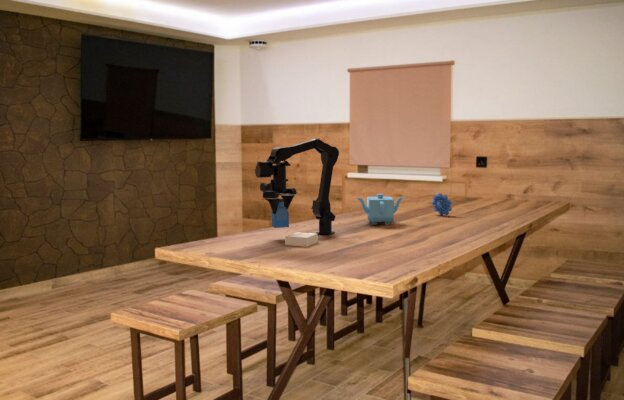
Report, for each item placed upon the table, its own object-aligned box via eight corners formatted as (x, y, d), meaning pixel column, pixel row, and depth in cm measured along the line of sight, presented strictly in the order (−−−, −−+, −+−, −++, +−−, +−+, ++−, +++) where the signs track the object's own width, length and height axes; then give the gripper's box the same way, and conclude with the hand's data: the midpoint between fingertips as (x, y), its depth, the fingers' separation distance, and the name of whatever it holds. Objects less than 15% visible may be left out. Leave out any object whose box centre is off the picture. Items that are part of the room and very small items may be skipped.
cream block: (296, 241, 255) (296, 232, 254) (317, 243, 250) (317, 233, 250) (285, 245, 246) (285, 236, 245) (307, 247, 241) (307, 237, 241)
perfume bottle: (274, 227, 256) (274, 200, 254) (272, 225, 262) (271, 198, 260) (289, 227, 257) (288, 199, 256) (285, 225, 263) (285, 198, 262)
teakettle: (382, 227, 287) (383, 196, 285) (353, 223, 300) (353, 194, 298) (406, 222, 300) (407, 193, 298) (377, 219, 313) (377, 191, 311)
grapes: (428, 215, 324) (428, 193, 322) (433, 213, 329) (434, 192, 328) (448, 217, 317) (448, 194, 315) (453, 215, 322) (453, 193, 321)
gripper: (275, 174, 269) (276, 209, 271) (251, 177, 253) (252, 214, 254) (296, 175, 263) (297, 210, 265) (273, 178, 247) (274, 216, 249)
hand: (280, 212), depth 259 cm, fingers closed on perfume bottle, 9 cm apart
